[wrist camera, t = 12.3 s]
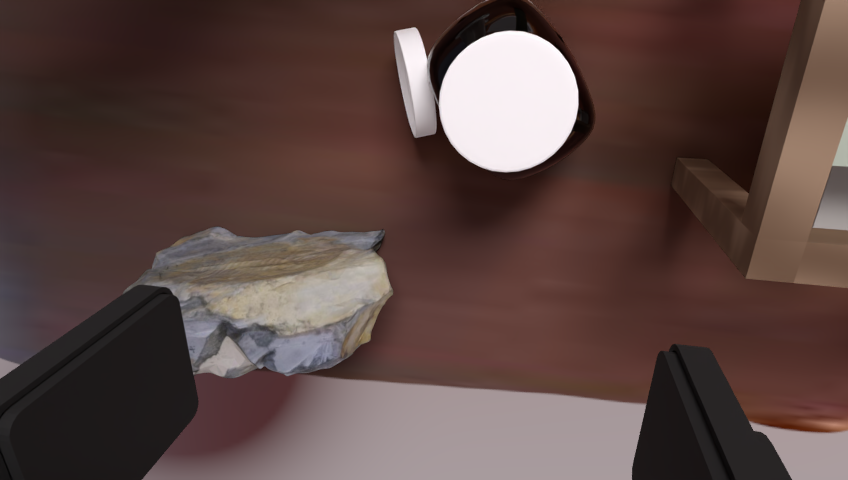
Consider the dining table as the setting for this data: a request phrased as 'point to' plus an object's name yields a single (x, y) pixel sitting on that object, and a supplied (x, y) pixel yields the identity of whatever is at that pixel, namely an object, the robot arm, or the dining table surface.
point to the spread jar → (498, 89)
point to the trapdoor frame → (786, 165)
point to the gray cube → (834, 201)
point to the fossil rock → (273, 297)
